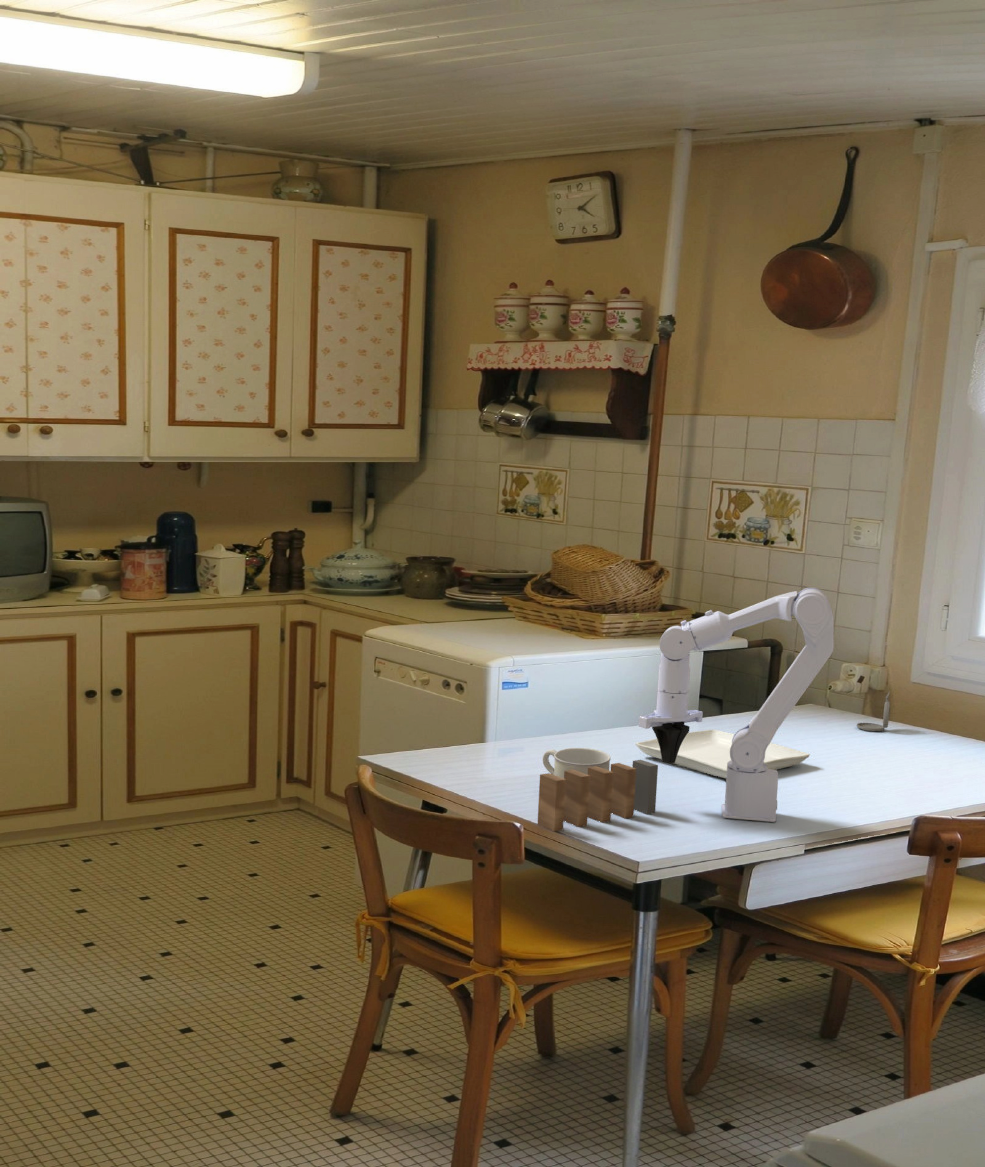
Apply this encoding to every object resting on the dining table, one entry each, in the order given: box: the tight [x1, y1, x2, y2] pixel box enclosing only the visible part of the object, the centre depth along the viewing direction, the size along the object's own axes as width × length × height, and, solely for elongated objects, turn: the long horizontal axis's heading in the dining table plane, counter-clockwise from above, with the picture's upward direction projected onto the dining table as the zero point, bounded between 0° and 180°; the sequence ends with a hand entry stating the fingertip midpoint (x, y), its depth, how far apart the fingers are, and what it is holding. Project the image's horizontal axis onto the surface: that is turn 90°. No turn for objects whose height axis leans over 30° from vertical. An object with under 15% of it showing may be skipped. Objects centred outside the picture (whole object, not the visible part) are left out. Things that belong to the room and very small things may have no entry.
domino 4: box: [610, 762, 636, 819], centre depth 231 cm, size 2×5×9 cm, turn 36°
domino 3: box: [588, 766, 613, 823], centre depth 227 cm, size 2×5×9 cm, turn 36°
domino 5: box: [632, 759, 659, 815], centre depth 234 cm, size 2×5×9 cm, turn 36°
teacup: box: [542, 747, 611, 779], centre depth 244 cm, size 14×11×8 cm
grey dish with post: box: [856, 691, 891, 732], centre depth 314 cm, size 8×8×10 cm
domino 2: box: [563, 770, 590, 828], centre depth 224 cm, size 2×5×9 cm, turn 36°
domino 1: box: [536, 772, 566, 833], centre depth 221 cm, size 2×5×9 cm, turn 36°
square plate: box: [635, 729, 811, 779], centre depth 274 cm, size 27×27×4 cm
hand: (668, 762), depth 237 cm, fingers closed
